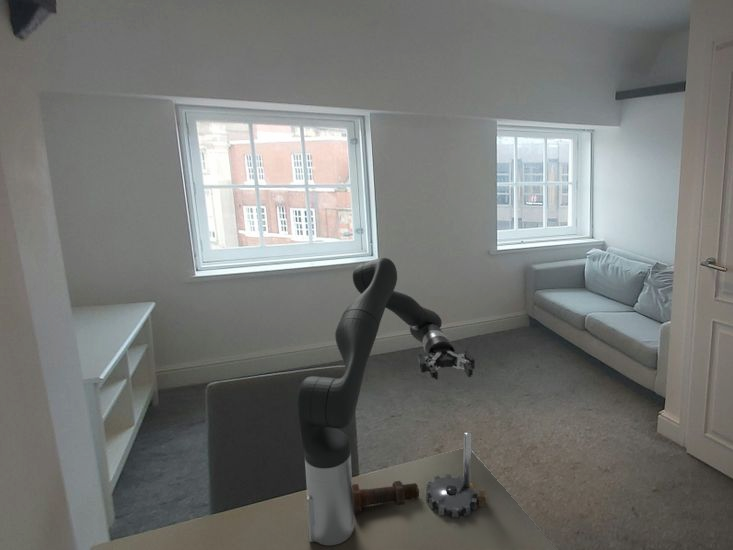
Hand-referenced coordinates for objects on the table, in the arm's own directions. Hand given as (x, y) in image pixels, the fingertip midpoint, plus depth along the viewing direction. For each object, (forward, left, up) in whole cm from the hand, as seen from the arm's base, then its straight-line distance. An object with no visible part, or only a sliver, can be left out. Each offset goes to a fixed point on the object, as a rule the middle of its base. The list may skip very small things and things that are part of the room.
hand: (453, 374), depth 104 cm
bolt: (-20, -13, -23) cm, 34 cm away
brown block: (+1, -17, -23) cm, 28 cm away
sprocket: (-5, -14, -23) cm, 28 cm away
